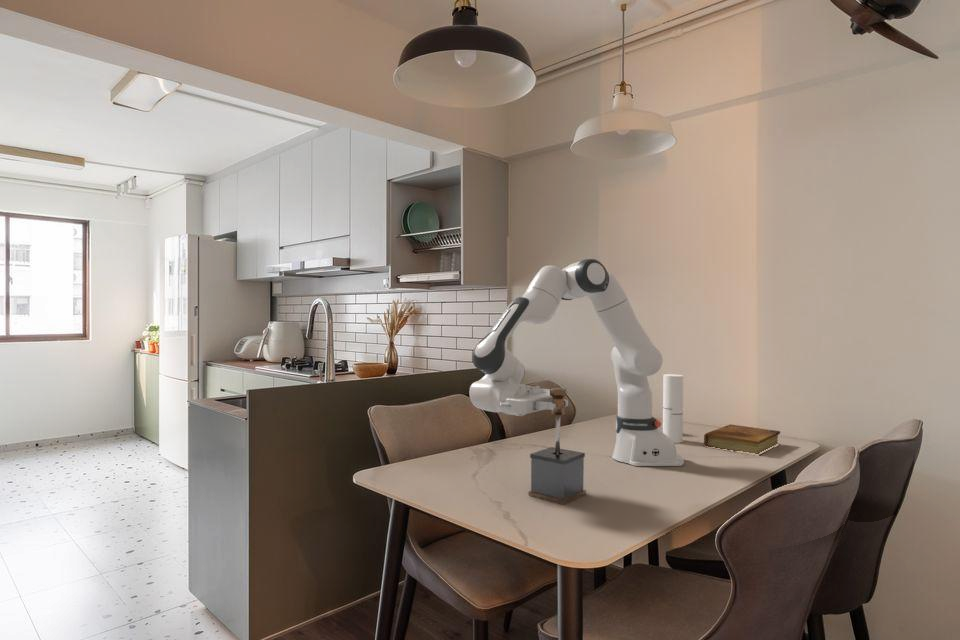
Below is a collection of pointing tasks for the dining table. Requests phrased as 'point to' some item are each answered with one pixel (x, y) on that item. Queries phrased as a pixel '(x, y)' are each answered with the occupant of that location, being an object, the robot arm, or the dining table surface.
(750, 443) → the diary
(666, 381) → the cylindrical container
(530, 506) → the dining table surface
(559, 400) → the plunger
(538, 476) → the grey box
